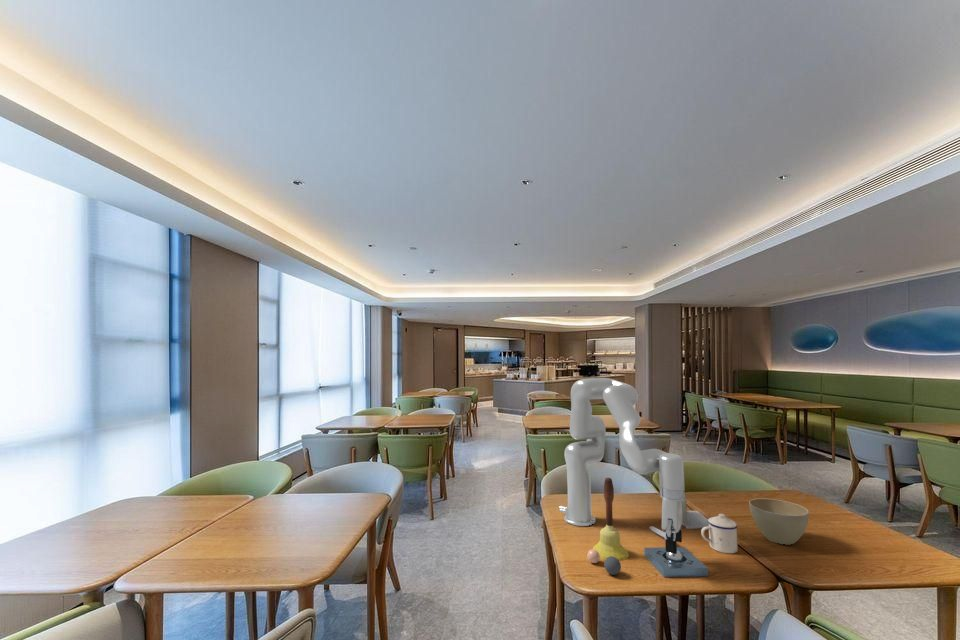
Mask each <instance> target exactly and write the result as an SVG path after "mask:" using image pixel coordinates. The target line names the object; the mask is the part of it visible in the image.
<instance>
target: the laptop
mask: <svg viewBox="0 0 960 640" xmlns="http://www.w3.org/2000/svg"><path fill="white" fill-rule="evenodd" d="M708 519H709V518H706V516H704V515H703V514H702V513H701V512H699V511H698V510H687V495H686V494H685V500H683V501H682V525H681V526H683V527H685V528H686V529H688V530H689V529H690V530H691V529H693V530H695V529H696V530H697V529H698V530H702V528H703V527H706V526H709V523H708Z"/></svg>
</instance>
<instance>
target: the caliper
mask: <svg viewBox="0 0 960 640" xmlns="http://www.w3.org/2000/svg"><path fill="white" fill-rule="evenodd" d="M649 529H650V530H651V531H652V532H653V533H655V534H657V535H659V536H661V538H664V539H665V537H666V531H664V530H662V529H659V528H657V527H655V526H653V525H652V526H649Z"/></svg>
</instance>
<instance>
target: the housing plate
mask: <svg viewBox="0 0 960 640" xmlns="http://www.w3.org/2000/svg"><path fill="white" fill-rule="evenodd" d="M643 549H644V550H643V551H644V553H643V555H644V557H645V558H646V559H647V560H648V561H649V562H650V563H651V564H652V566H653V567H654V568H655V569H656V570H657V571H658V573H659V574H660V575H662V577H663V578H682V577H683V578H684V577H685V578H687V577H689V578H690V577H693V578H694V577H709V568H708V567H707V566H706V565H705V563H703V561H700V559H699V558H697V557H696V556H695V555H694V554H693V553H691V551H689V550H688V549H687V548H686V547H685V546H677V550H678V551H679V552H680V553H681V554H682V557H683V561H682V563H675V562H672V561H669V560H667V559H666V553H667V552H666V546H665V547H644V548H643Z"/></svg>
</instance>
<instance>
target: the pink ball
mask: <svg viewBox="0 0 960 640" xmlns="http://www.w3.org/2000/svg"><path fill="white" fill-rule="evenodd" d="M586 557H587V560H588V561H589V562H590V563H591V564H597V563H598V562H599V561H600V559H601V558H600V555H599V553H598V551H596V550H594V549H592V548H591V549H589V550H588V552H587V556H586Z"/></svg>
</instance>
